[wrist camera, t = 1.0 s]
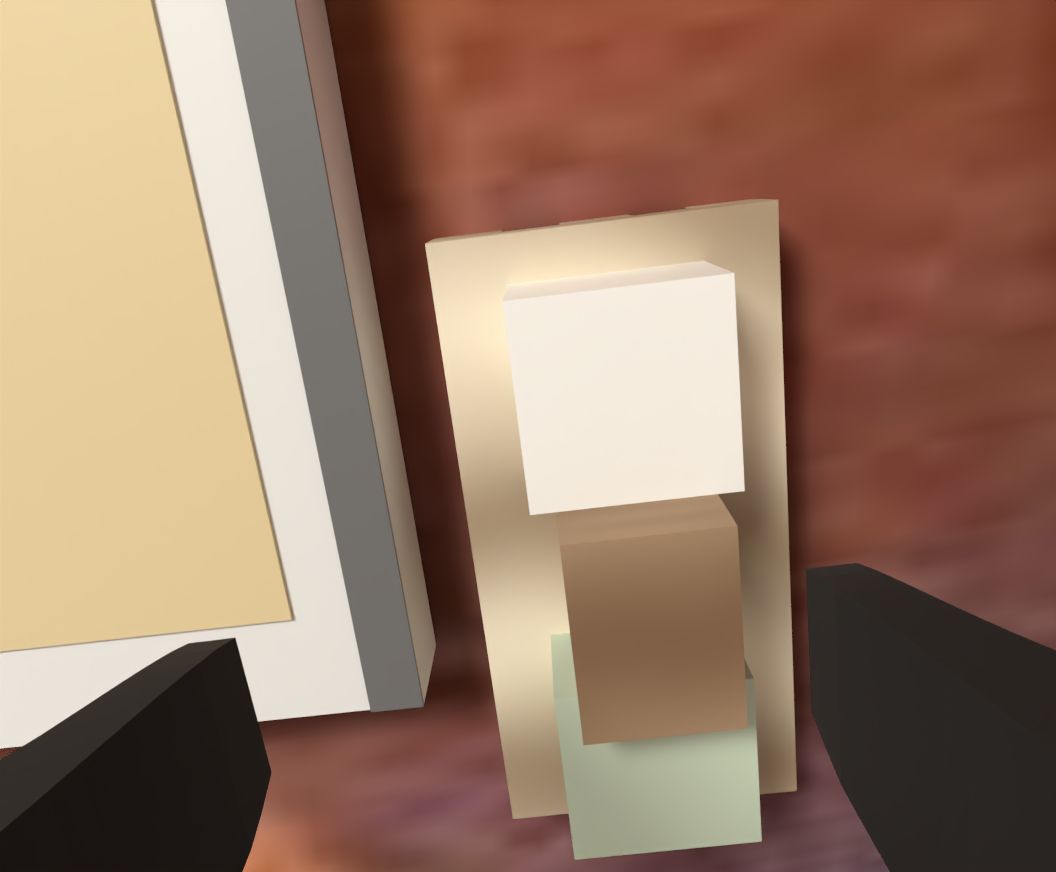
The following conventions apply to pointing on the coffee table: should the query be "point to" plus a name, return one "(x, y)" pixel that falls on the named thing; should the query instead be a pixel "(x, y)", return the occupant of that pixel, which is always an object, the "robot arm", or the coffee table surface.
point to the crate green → (655, 781)
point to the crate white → (626, 386)
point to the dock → (193, 367)
